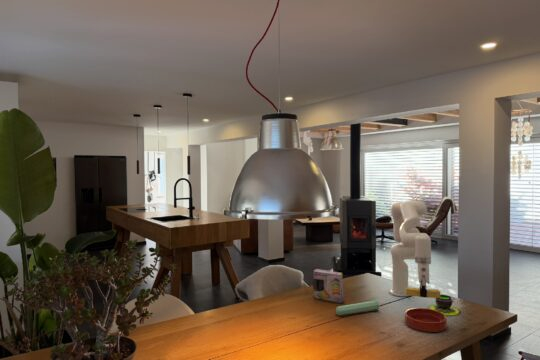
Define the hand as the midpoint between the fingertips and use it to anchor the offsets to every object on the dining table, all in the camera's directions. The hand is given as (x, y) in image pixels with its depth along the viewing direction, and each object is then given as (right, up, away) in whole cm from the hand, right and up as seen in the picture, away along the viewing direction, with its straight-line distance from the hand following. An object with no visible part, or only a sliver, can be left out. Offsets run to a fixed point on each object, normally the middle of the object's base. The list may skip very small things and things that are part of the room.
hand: (423, 295), depth 191 cm
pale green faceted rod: (-30, -15, +17) cm, 38 cm away
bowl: (+1, -15, -1) cm, 15 cm away
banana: (0, -1, +1) cm, 1 cm away
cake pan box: (-43, -15, +38) cm, 59 cm away
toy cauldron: (+19, -14, +18) cm, 30 cm away
